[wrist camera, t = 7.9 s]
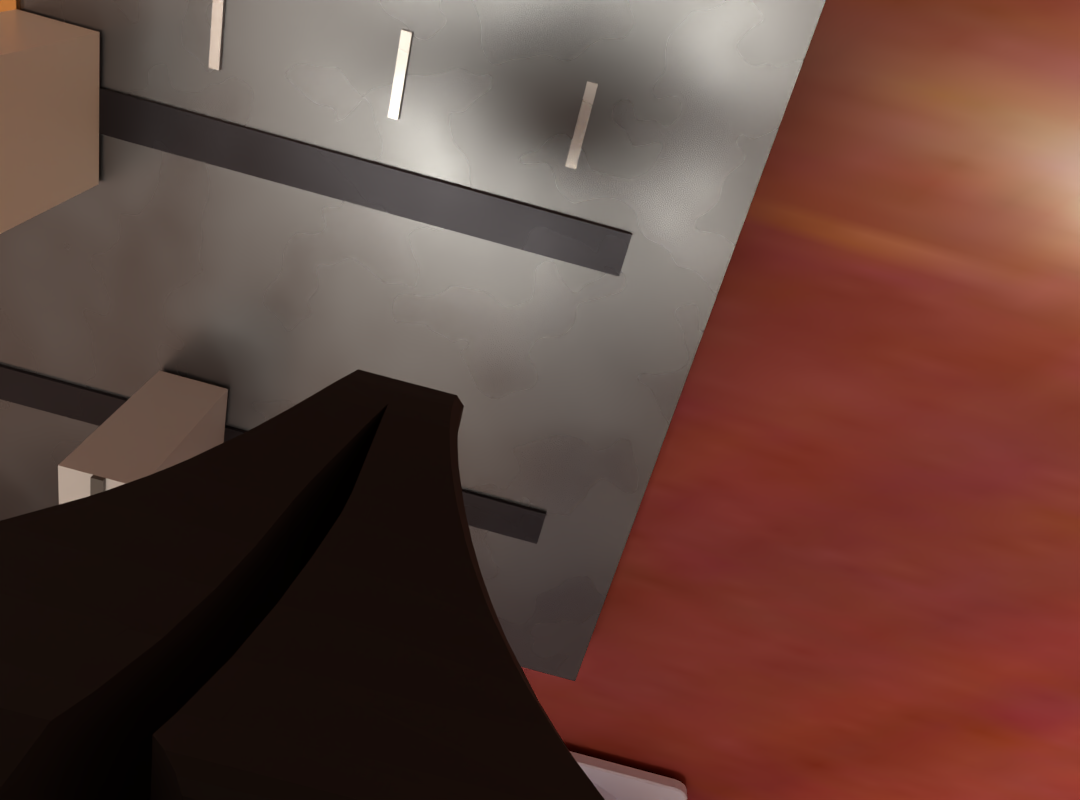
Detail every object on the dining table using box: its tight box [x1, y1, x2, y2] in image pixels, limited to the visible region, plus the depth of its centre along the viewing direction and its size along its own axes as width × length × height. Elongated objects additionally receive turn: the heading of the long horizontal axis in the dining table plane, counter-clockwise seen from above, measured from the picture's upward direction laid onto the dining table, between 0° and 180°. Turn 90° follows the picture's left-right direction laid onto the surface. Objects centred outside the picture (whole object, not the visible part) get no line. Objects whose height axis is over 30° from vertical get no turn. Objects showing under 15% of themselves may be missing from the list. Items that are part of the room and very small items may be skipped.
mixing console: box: [0, 0, 826, 681], centre depth 20 cm, size 17×21×2 cm
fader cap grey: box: [58, 371, 228, 504], centre depth 20 cm, size 3×2×4 cm, turn 166°
